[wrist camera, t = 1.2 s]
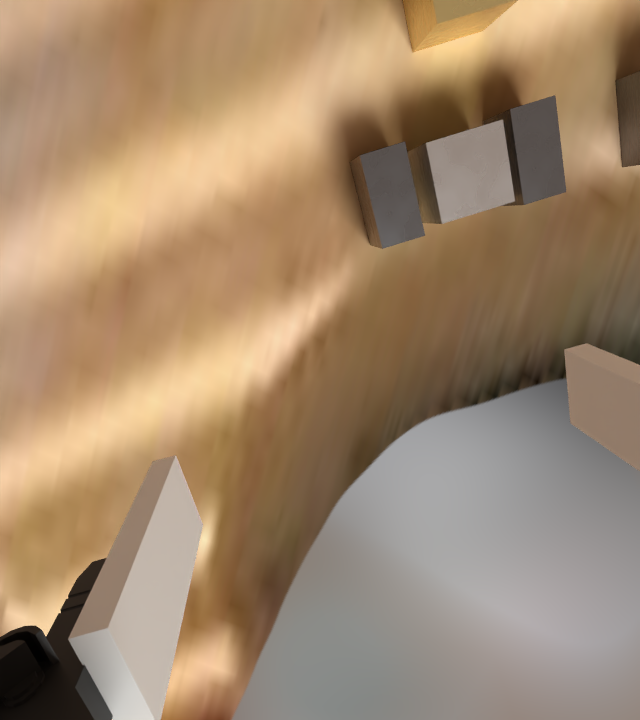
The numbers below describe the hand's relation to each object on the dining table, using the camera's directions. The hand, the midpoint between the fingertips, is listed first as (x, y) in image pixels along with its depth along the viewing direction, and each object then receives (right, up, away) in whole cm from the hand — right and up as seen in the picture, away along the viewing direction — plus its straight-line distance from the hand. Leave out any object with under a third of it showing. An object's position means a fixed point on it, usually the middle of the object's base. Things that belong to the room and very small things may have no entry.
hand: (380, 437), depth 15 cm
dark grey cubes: (+12, +17, +19) cm, 28 cm away
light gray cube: (+7, +16, +19) cm, 26 cm away
